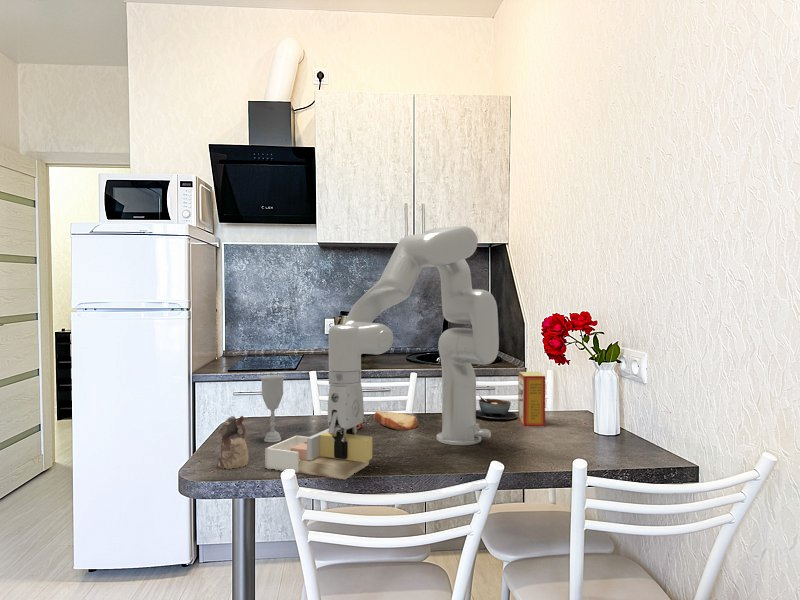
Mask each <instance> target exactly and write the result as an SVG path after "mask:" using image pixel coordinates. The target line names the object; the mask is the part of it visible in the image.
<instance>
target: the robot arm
mask: <svg viewBox="0 0 800 600" xmlns="http://www.w3.org/2000/svg"><path fill="white" fill-rule="evenodd" d="M477 247H478V236H477V234H476V232H475V231H474V230H473V229H472V228H471V227H470V226H466V225H458V226H448V227H437V228H431V229H428V230H426V231H424V232H422V233H418V234H409V235H407V236H404V237H402V238H401V239H400V240H399V241H398V243H397V244H396V247H395V248H394V250H393V253H392V254H391V256H390V259H389V260H388V261H387V262H388V263H387V264H386V266H385V268H384V270H383V272H382V274H381V276H380V278H379V280H378V281H377V282H376V283H375V284H374V285H372V287H370V288H369V289H368V290H367V291H366V292H365V293H364V294H363V295H362V296H361V297H360V298H359V299H358V300H357V301H356V302H355V303H354V304H353V306H352V308H351V309H350V311H349V312H348V314H347V317H346V319H345V320H344V322H343V324H333V325H331V326H330V327H329V329H328V385H329V389H328V390H329V391H328V397H327V398H328V399H327V424H328V425H327V426H328V427H329V434H331V435H332V437H333V441H334V457H335V458H340V459H347V441H346V434H352V435H358V432H357V431H358V429H357V427H358V424H360V423H361V422H362V423H363V421H365V420H364V419H365V409H364V394H363V393H364V392H363V386H362V355H363V354H366V355H381V354H384V353H386V352H387V351H389V350H390V349H391V347H392V346H393V343H394V334H393V331H392V329H390V327H388V326H387V325H385V324H383V323H379V322H373V321H374V320H375V319H376V318H377V317H378V316H379V315H381V313H383V312H384V311H385V310H387V309H389V308H391V307H393V306H396V305H398V304H400V303H402V302H403V301H405V300H406V299H408V298H409V297H410V295H411V293H412V291H413V288H414V286H415V284H416V283H417V280H418V278H419V275H420V274H421V272H422V270H423V268H430V267H431V268H433V267H434V268H437V270H438V273H439V277H440V290H441V292H440V293H441V308H442V311H441V312H442V314H443V318H444V319H445V320H446V321H447V322H450V323H453V324H463V325H466V324H467V325H471V328H467V327H466V328H465V327H451V328H448V329H446V330H444V331H443V332H442V333H441V335H440V336H439V338H438V343H437V344H438V354H439V357H440V363H441V365H440V366H441V381H442V382H441V429H442V430H441V432H439V433H437V434H436V441H438V442H439V443H441V444H444V445H448V446H449V445H450V446H472V445H476V444H479V443H481V442H482V437H483V438H488V439H489V438H491V437H492V436H491V435H492V432H491V430H489V429H487V428H481V427H480V423H479V422H478V423H477V416H476V410H477V394H476V392H477V376H476V372H475V369H474V367H473V365H483V366H486V365H489V364H492V363H493V362H495V360H496V359H497V357H498V354H499V346H500V336H499V316H498V315H499V314H498V313H499V312H498V305H497V301H496V299H495V297H494V295H493V294H492V293H491V292H490V291H488V290H485V289H476V288H473V284H472V275H471V274H472V273H471V269H470V266H469V264H468V262H467V261H466V259H468V258H470V257H471V256H473V255H474V253H475V252H476V250H477ZM472 364H473V365H472ZM341 433H342V434H341Z"/></svg>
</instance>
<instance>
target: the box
mask: <svg viewBox="0 0 800 600" xmlns="http://www.w3.org/2000/svg"><path fill="white" fill-rule="evenodd" d="M308 437H309V436H303V435H294V436H292V437H289V438H288V439H284V440H283V441H279V442H278V443H277V442H276V443H275V444H272V445H270V446H268V447H266V448H265V449H264V451H265V452H264V455H265V458H264V459H265V460H264V467H265V468H267V469H266V470H271V469H275V470H274V471H278V470H280V471H279V472H284V471H283V470H285V469H294V470H295V471H296V473H295V474H300V473H299V452H295V451H290V448H291V447H294V446H296V445H298V444H300V443H303V444H305V441H307V438H308ZM265 468H264V469H265Z"/></svg>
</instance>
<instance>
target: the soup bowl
mask: <svg viewBox="0 0 800 600" xmlns="http://www.w3.org/2000/svg"><path fill="white" fill-rule="evenodd" d="M476 396H478V397H479V398H480V399H479V400H478V404H479V409H476V417H479V418H482V419H486V420H494V421H495V420H496V421H507V420H513V419H515V418H517V419H518V414H516V413H515V412H512V411H510V409H511V408H510V407H511V403H512V402H511V401H508V400H504V399H496V398H484V397H483V396H482V395H481V394H480V393H478V392H477V391H476Z"/></svg>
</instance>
